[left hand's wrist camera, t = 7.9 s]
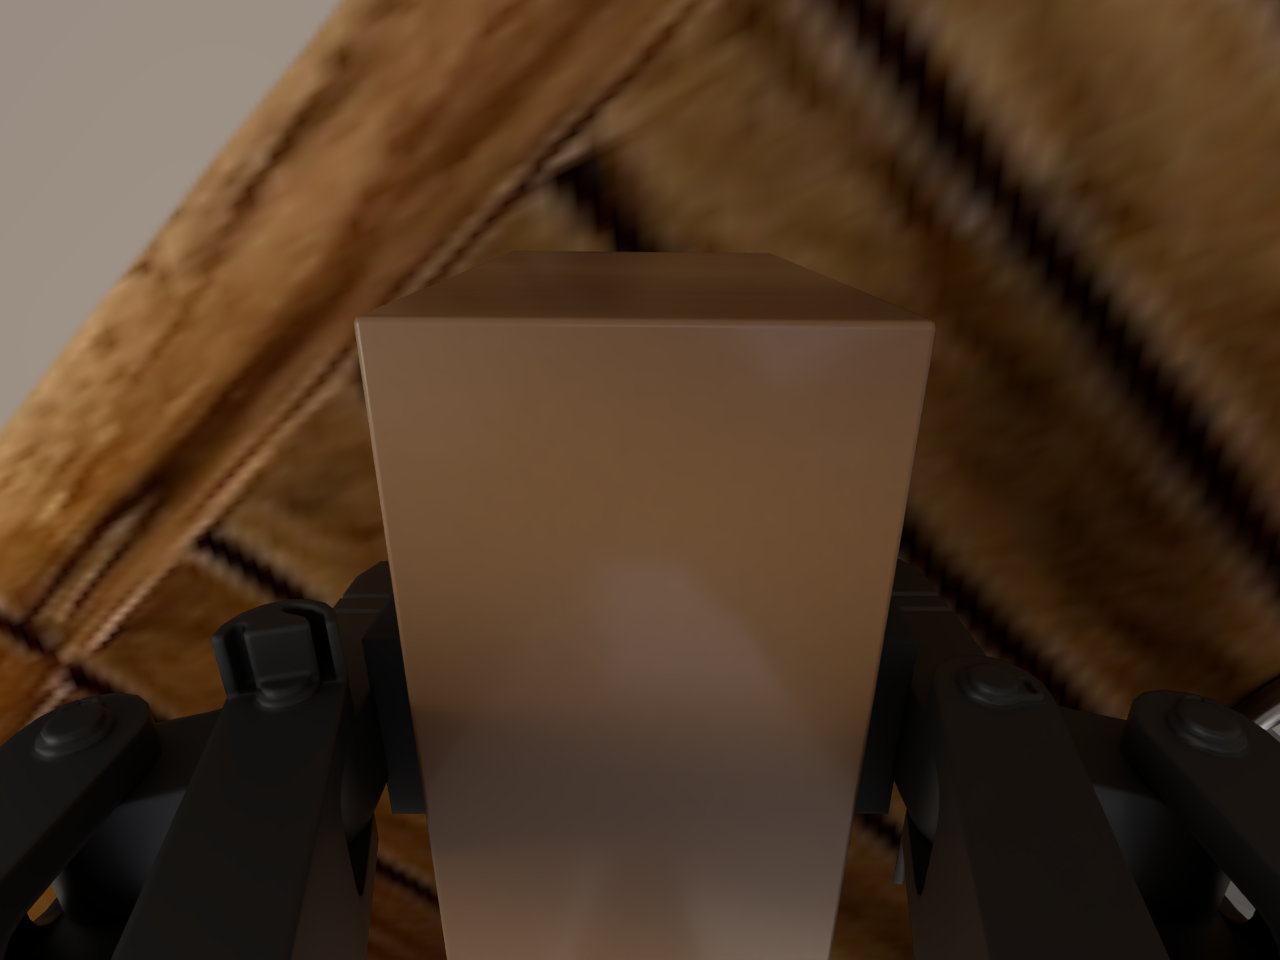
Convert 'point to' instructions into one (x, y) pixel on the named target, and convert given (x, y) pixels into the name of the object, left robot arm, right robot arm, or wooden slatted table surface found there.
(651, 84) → the wooden slatted table surface
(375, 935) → the wooden slatted table surface
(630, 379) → the beam
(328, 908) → the left robot arm
